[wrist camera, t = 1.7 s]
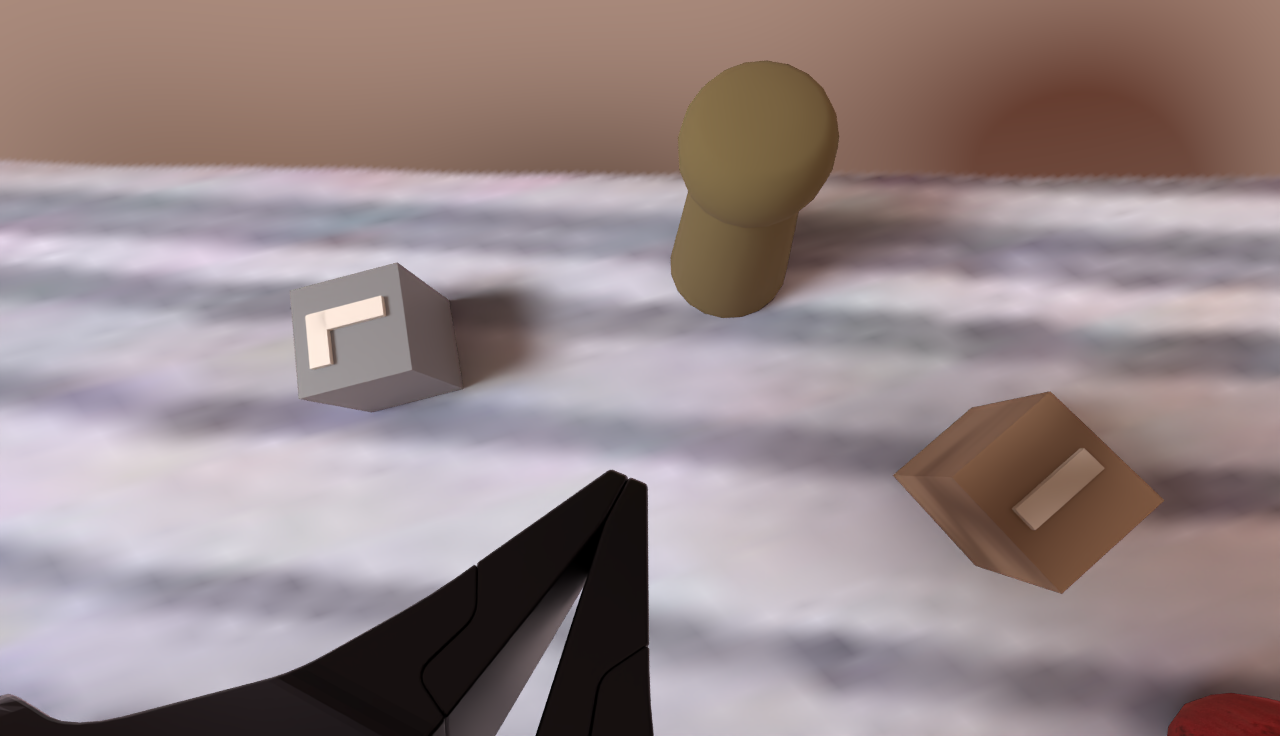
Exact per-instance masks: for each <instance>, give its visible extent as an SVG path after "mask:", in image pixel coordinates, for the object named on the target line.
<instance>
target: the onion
mask: <svg viewBox="0 0 1280 736" xmlns="http://www.w3.org/2000/svg"><path fill="white" fill-rule="evenodd" d="M1167 736H1280V701H1276V700H1272V699H1269V698H1262V697H1255V696H1249V695H1242V694H1235V693H1225V694H1215V695H1209V696H1207V697H1204V698H1201V699H1198V700H1195V701H1192V702H1189V703H1186V704H1184V706H1183V707H1182V709H1181V710H1180V711H1179V713H1178V714H1177V715H1176V717H1175V718H1174V719H1173V721H1172V722H1171V723H1170V725H1169V727H1168V734H1167Z"/></svg>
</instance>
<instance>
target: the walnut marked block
mask: <svg viewBox="0 0 1280 736" xmlns="http://www.w3.org/2000/svg"><path fill="white" fill-rule="evenodd" d="M893 476H894V477H895V478H896V479H897V480H898V481H899V482H900V484H901V485H902V486H903V487H904V488H905V489H906V490H907V491H908V492H909V493H910V495H911V496H912V497H913V498H914V499H915V500H916V501H917V502H918V503H919V504H920V505H921V507H922V508H923V509H924V510H925V511H926V512H927V513H928V514H929V515H930V516H931V517H932V519H933V520H934V521H935V522H936V523H937V524H938V525H939V526H940V527H941V528H942V530H943V531H944V532H945V533H946V534H947V535H948V536H949V537H950V538H951V539H952V540H953V542H954V543H955V544H956V545H957V546H958V547H959V548H960V549H961V550H962V551H963V553H964V554H965V555H966V556H967V557H968V558H969V559H970V560H971V561H972V562H973V563H974V565H975V566H978V567H981V568H984V569H987V570H991V571H994V572H997V573H1000V574H1003V575H1006V576H1009V577H1012V578H1015V579H1018V580H1021V581H1024V582H1027V583H1030V584H1033V585H1037V586H1040V587H1043V588H1046V589H1049V590H1052V591H1055V592H1058V593H1061V594H1062V593H1063V592H1064V591H1065V590H1066V589H1068V588H1069V587H1070V586H1071V585H1072V584H1073V583H1074V582H1075V581H1076V580H1077V579H1079V578H1080V577H1081V576H1082V575H1083V574H1084V573H1085V572H1086V571H1087V570H1088V569H1090V568H1091V567H1092V566H1093V565H1094V564H1095V563H1096V562H1097V561H1098V560H1099V559H1101V558H1102V557H1103V556H1104V555H1105V554H1106V553H1107V552H1108V551H1109V550H1110V549H1111V548H1113V547H1114V546H1115V545H1116V544H1117V543H1118V542H1119V541H1120V540H1121V539H1122V538H1124V537H1125V536H1126V535H1127V534H1128V533H1129V532H1130V531H1131V530H1132V529H1133V528H1135V527H1136V526H1137V525H1138V524H1139V523H1140V522H1141V521H1142V520H1143V519H1144V518H1146V517H1147V516H1148V515H1149V514H1150V513H1151V512H1152V511H1153V510H1154V509H1155V508H1157V507H1158V506H1159V505H1160V504H1161V503H1162V502H1163V501H1164V500H1163V499H1162V498H1161V497H1160V496H1159V495H1158V494H1157V493H1156V492H1155V491H1154V490H1153V489H1152V488H1151V487H1150V486H1149V485H1148V484H1147V483H1146V482H1145V481H1143V480H1142V479H1141V478H1140V477H1139V476H1138V475H1137V474H1136V473H1135V472H1134V471H1133V470H1132V469H1131V468H1130V467H1129V466H1128V465H1127V464H1126V463H1125V462H1124V461H1123V460H1122V459H1120V458H1119V457H1118V456H1117V455H1116V454H1115V453H1114V452H1113V451H1112V450H1111V449H1110V448H1109V447H1108V446H1107V445H1106V444H1105V443H1104V442H1103V441H1102V440H1101V439H1100V438H1099V437H1097V436H1096V435H1095V434H1094V433H1093V432H1092V431H1091V430H1090V429H1089V428H1088V427H1087V426H1086V425H1085V424H1084V423H1083V422H1082V421H1081V420H1080V419H1079V418H1078V417H1077V416H1076V415H1074V414H1073V413H1072V412H1071V411H1070V410H1069V409H1068V408H1067V407H1066V406H1065V405H1064V404H1063V403H1062V402H1061V401H1060V400H1059V399H1058V398H1057V397H1056V396H1055V395H1054V394H1053V393H1051V392H1045V393H1040V394H1036V395H1031V396H1026V397H1021V398H1016V399H1011V400H1007V401H1002V402H997V403H992V404H987V405H983V406H978V407H973V408H971V409H970V410H968V411H967V412H966V413H965V414H964V415H963V416H961V417H960V418H959V419H958V420H957V421H956V422H954V423H953V424H952V425H951V426H950V427H949V428H947V429H946V430H945V431H944V432H943V433H942V434H940V435H939V436H938V437H937V438H936V439H935V440H933V441H932V442H931V443H930V444H929V445H928V446H926V447H925V448H924V449H923V450H922V451H921V452H919V453H918V454H917V455H916V456H915V457H914V458H912V459H911V460H910V461H909V462H908V463H907V464H906V465H904V466H903V467H902V468H901V469H900V470H899V471H897V472H896V473H895V474H894V475H893Z"/></svg>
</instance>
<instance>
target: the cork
mask: <svg viewBox="0 0 1280 736" xmlns="http://www.w3.org/2000/svg"><path fill="white" fill-rule="evenodd" d="M838 141H839V132H838V124H837V116H836V113H835V111H834V108H833V106H832V104H831V103H830V100H829V99H828V97H827V95H826V93H825V91H824V89H823V88H822V87H821V86H820V85H819V84H818V83H817V82H816V81H815V80H814V79H813V78H812V77H811V76H810V75H809V74H807V73H805V72H803V71H801V70H799V69H797V68H795V67H793V66H791V65H789V64H782V63H777V62H772V61H759V62H746V63H743V64H740V65H737V66H735V67H732V68H729V69H727V70H725V71H723V72H722V73H720V74H719V75H718V76H716V77H715V78H714V79H712V80H711V81H710V82H708V83H707V84H706V85H705V86H704V87H703V88H702V89H701V90H700V91H699V93H698V94H697V95H696V97H695V98H694V100H693V101H692V102H691V103H690V105H689V106H688V109H687V111H686V114H685V117H684V120H683V123H682V126H681V130H680V133H679V136H678V153H679V170H680V173H681V175H682V177H683V180H684V182H685V184H686V187H687V189H688V194H687V198H686V202H685V205H684V209H683V213H682V217H681V221H680V224H679V228H678V232H677V236H676V239H675V243H674V247H673V251H672V255H671V275H672V278H673V280H674V283H675V285H676V288H677V290H678V292H679V293H680V294H681V295H682V296H683V297H684V299H685V300H686V301H687V302H688V303H689V304H690V305H692V306H693V307H695V308H697V309H698V310H700V311H701V312H703V313H705V314H709V315H713V316H717V317H721V318H731V317H742V316H745V315H748V314H751V313H753V312H756V311H759V310H760V309H761V308H763V307H764V306H765V305H766V304H768V303H769V302H770V301H772V300H773V299H774V297H775V296H776V294H777V293H778V291H779V290H780V288H781V287H782V285H783V282H784V278H785V274H786V270H787V265H788V260H789V256H790V251H791V246H792V241H793V236H794V232H795V227H796V222H797V217H798V212H799V211H800V210H801V209H802V208H803V207H805V206H806V205H807V204H808V203H810V202H811V201H812V200H813V199H814V198H815V197H816V195H817V194H818V192H819V191H820V189H821V188H822V186H823V185H824V183H825V182H826V180H827V178H828V177H829V175H830V173H831V171H832V169H833V165H834V161H835V157H836V153H837V149H838Z"/></svg>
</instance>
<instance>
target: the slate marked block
mask: <svg viewBox="0 0 1280 736" xmlns="http://www.w3.org/2000/svg"><path fill="white" fill-rule="evenodd" d="M290 300H291V312H292V324H293V336H294V348H295V360H296V372H297V384H298V396H299V399H301V400H307V401H312V402H318V403H323V404H329V405H334V406H340V407H345V408H351V409H356V410H362V411H367V412H375V411H379V410H383V409H387V408H390V407H394V406H398V405H402V404H406V403H410V402H414V401H418V400H422V399H426V398H430V397H434V396H437V395H441V394H445V393H449V392H453V391H457V390H461V389H463V383H462V377H461V370H460V364H459V358H458V352H457V345H456V339H455V333H454V327H453V320H452V314H451V308H450V302H449V300H448V299H446V298H445V297H444V296H442V295H441V294H440V293H438V292H437V291H436V290H434V289H433V288H431V287H430V286H429V285H427V284H426V283H425V282H423V281H422V280H420V279H419V278H418V277H416V276H415V275H414V274H412V273H411V272H410V271H408V270H407V269H405V268H404V267H403V266H401V265H400V264H399V263H393V264H390V265H386V266H382V267H378V268H374V269H371V270H367V271H363V272H359V273H355V274H352V275H348V276H344V277H340V278H336V279H333V280H329V281H325V282H321V283H318V284H314V285H310V286H306V287H302V288H299V289H295V290H291V291H290Z"/></svg>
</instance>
